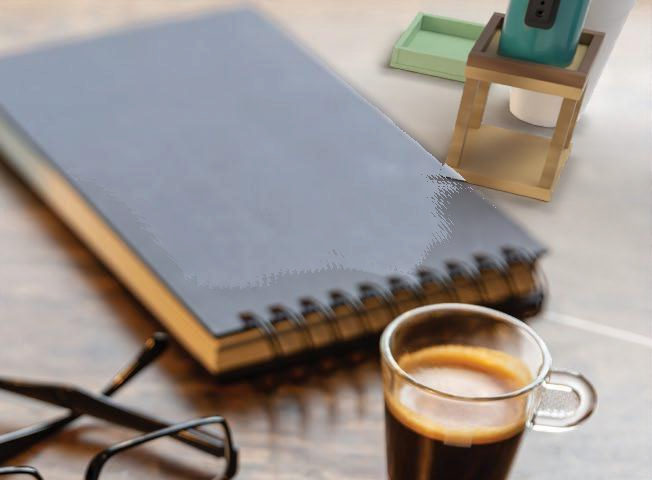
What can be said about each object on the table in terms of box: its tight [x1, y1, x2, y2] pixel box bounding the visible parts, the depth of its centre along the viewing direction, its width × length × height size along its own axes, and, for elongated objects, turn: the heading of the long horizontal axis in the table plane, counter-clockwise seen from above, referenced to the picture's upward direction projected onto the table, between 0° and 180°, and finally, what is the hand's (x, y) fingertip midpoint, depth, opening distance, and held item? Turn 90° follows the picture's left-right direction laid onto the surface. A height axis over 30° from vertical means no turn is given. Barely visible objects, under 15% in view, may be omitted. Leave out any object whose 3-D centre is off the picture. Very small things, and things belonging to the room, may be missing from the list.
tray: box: [389, 11, 487, 83], centre depth 127 cm, size 9×9×2 cm
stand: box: [444, 11, 606, 202], centre depth 109 cm, size 9×9×11 cm
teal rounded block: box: [497, 0, 591, 68], centre depth 103 cm, size 6×6×8 cm
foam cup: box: [508, 0, 638, 128], centre depth 115 cm, size 10×9×13 cm
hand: (546, 9), depth 103 cm, fingers closed on teal rounded block, 6 cm apart
